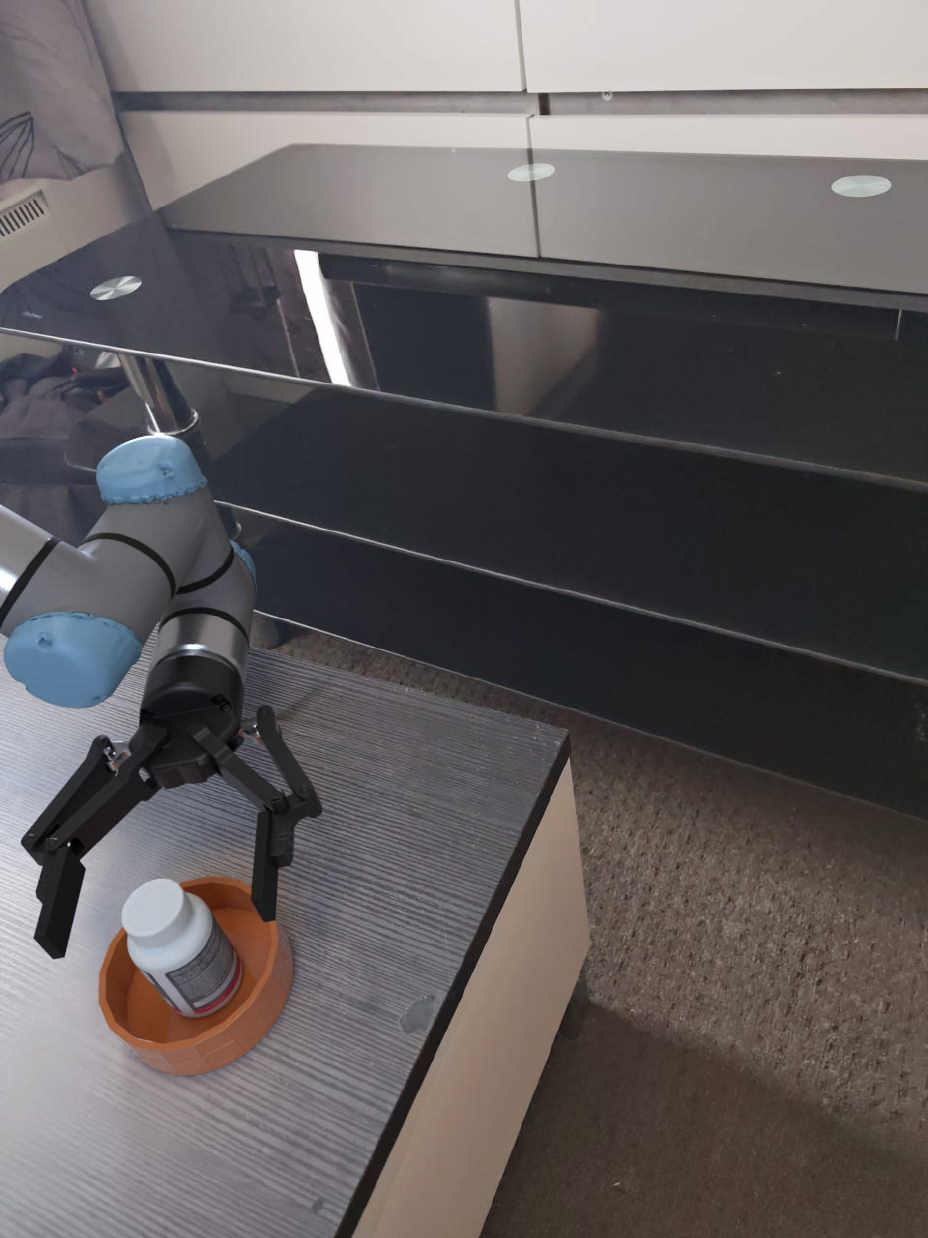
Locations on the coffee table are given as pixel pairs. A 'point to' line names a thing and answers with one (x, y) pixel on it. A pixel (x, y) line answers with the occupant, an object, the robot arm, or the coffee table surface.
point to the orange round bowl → (229, 1029)
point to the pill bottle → (181, 948)
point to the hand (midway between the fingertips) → (155, 930)
